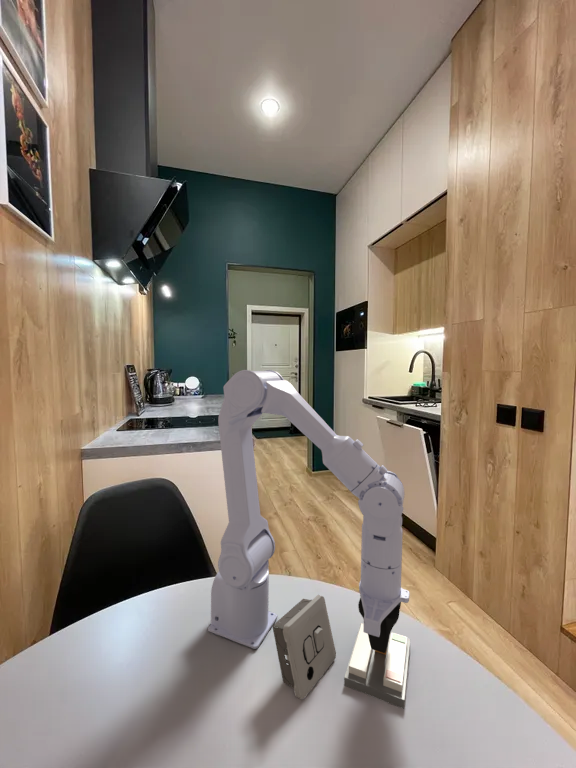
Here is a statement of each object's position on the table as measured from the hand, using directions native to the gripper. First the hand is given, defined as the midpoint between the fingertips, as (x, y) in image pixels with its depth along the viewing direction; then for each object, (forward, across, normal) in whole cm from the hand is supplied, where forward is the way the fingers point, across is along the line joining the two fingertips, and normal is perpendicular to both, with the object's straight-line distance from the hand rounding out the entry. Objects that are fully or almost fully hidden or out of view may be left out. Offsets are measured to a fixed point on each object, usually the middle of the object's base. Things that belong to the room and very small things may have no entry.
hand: (378, 647), depth 50 cm
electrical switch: (+4, -4, +10) cm, 12 cm away
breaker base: (+3, +1, 0) cm, 4 cm away
